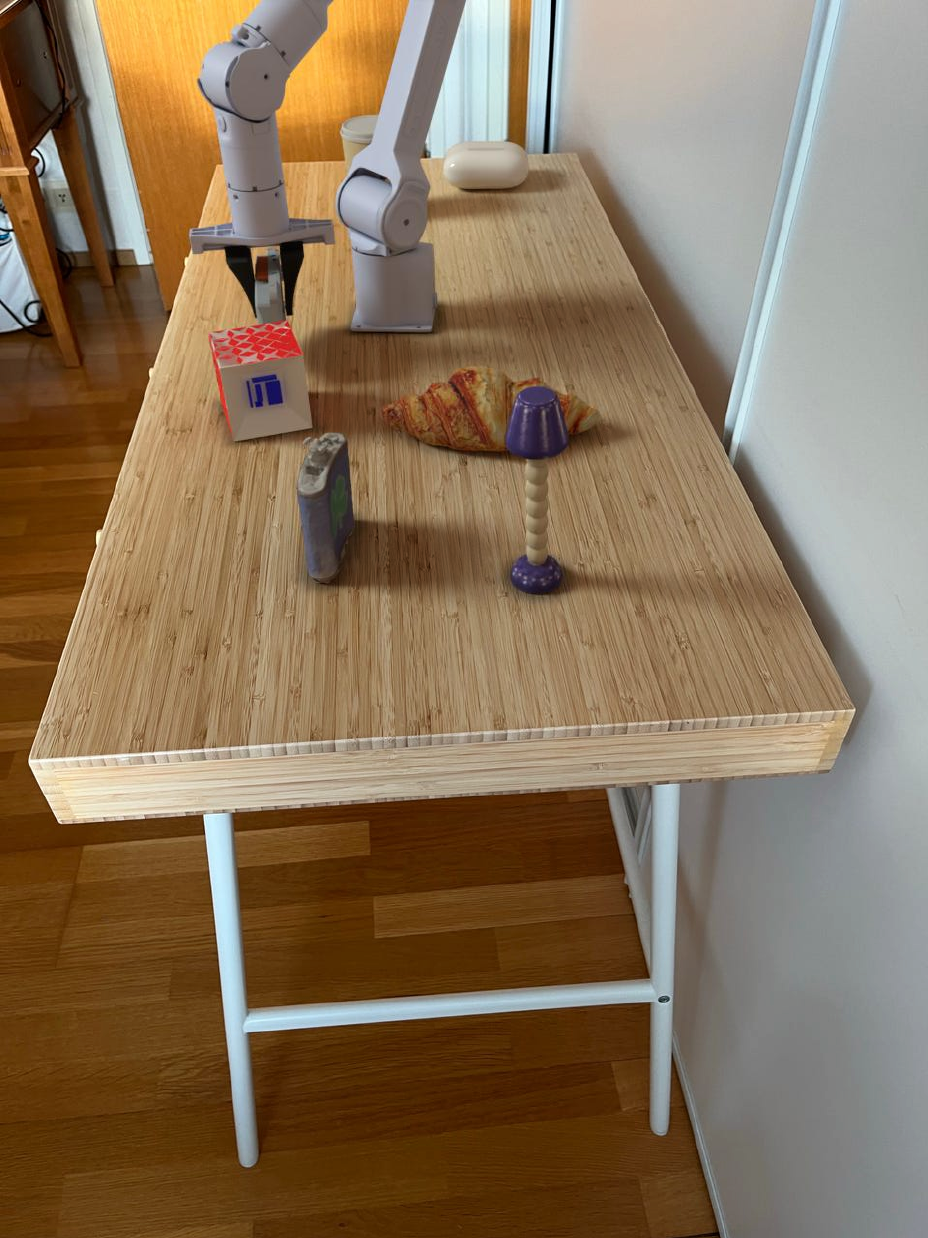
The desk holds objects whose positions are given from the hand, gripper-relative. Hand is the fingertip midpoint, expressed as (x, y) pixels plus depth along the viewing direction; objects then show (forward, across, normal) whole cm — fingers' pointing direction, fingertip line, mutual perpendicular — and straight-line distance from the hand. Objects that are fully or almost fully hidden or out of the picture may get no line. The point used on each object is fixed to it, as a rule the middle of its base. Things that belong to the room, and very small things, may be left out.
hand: (274, 312), depth 107 cm
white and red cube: (+5, +2, +13) cm, 14 cm away
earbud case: (+5, -33, -52) cm, 62 cm away
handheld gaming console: (+3, 0, 0) cm, 3 cm away
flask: (+5, -3, +36) cm, 37 cm away
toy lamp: (+5, -19, +43) cm, 48 cm away
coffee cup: (+5, -15, -43) cm, 46 cm away
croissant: (+5, -20, +21) cm, 29 cm away
